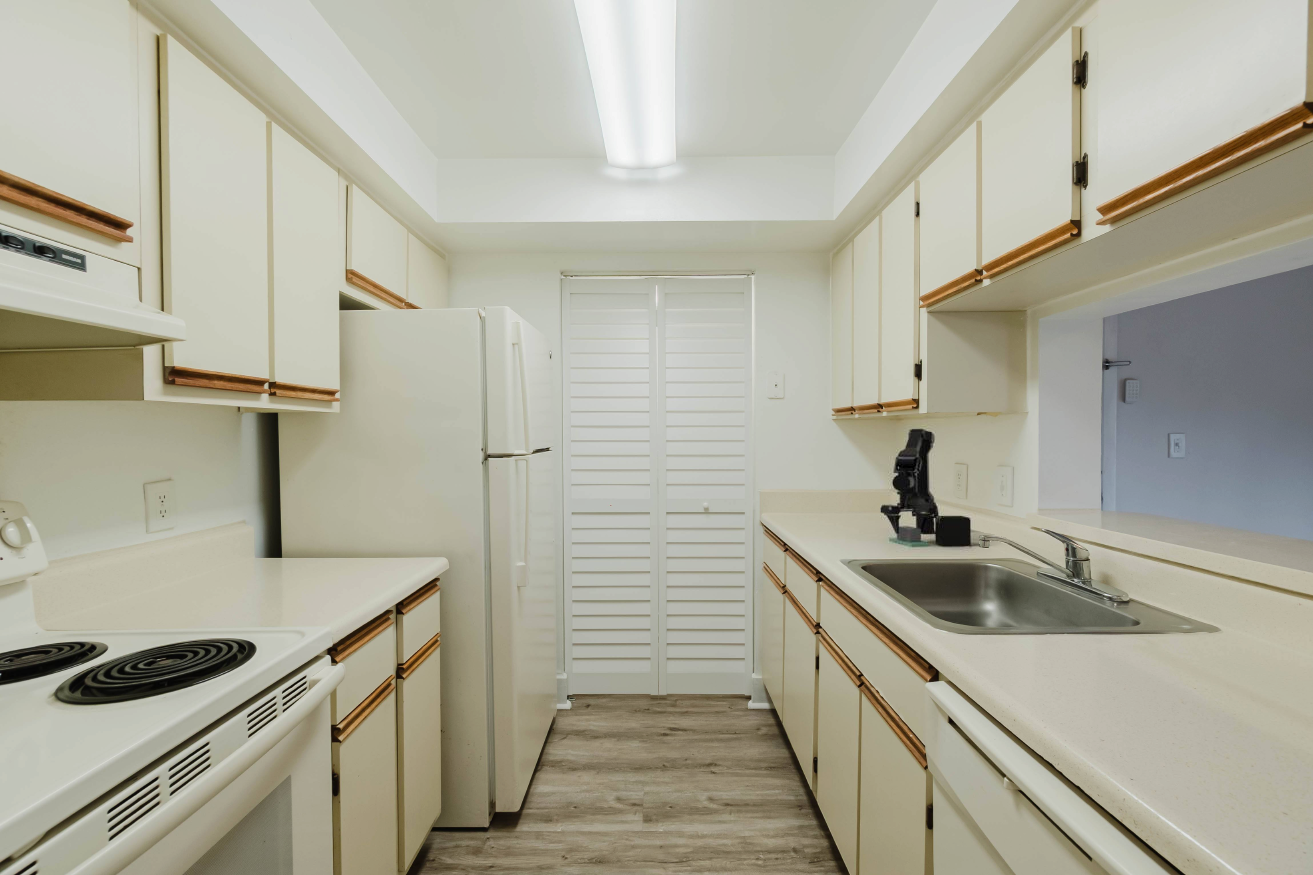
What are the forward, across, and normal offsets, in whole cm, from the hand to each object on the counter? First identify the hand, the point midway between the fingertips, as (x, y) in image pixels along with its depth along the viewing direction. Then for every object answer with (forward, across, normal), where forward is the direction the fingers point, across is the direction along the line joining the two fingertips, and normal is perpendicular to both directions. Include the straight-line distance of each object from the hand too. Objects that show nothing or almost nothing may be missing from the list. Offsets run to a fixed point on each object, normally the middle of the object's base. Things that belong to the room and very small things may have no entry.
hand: (908, 533), depth 190 cm
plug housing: (+2, 0, 0) cm, 2 cm away
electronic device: (+4, +12, -7) cm, 14 cm away
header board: (+4, 0, 0) cm, 4 cm away
